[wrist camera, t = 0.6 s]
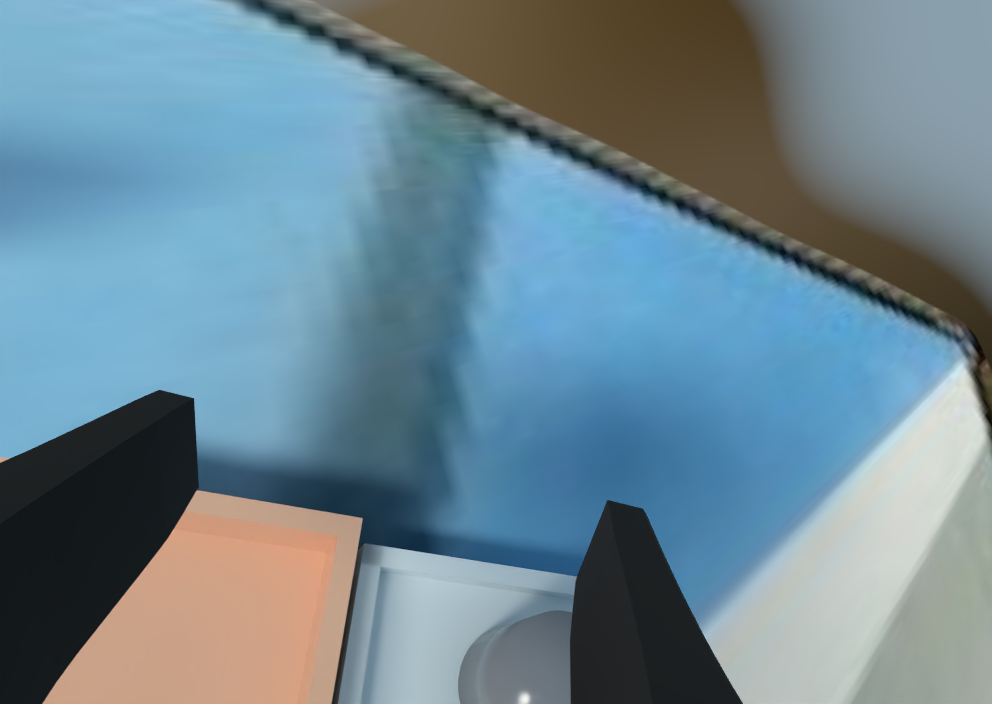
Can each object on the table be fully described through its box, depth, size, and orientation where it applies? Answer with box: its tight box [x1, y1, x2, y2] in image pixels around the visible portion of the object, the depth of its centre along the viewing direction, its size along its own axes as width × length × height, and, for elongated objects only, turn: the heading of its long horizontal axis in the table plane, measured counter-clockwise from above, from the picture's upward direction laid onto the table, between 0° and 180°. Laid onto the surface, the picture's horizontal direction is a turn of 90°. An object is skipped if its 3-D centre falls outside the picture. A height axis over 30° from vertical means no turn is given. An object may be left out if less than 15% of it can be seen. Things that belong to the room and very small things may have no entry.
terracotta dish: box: [0, 457, 363, 704], centre depth 21 cm, size 13×13×4 cm
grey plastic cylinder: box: [458, 610, 572, 704], centre depth 24 cm, size 4×4×5 cm
